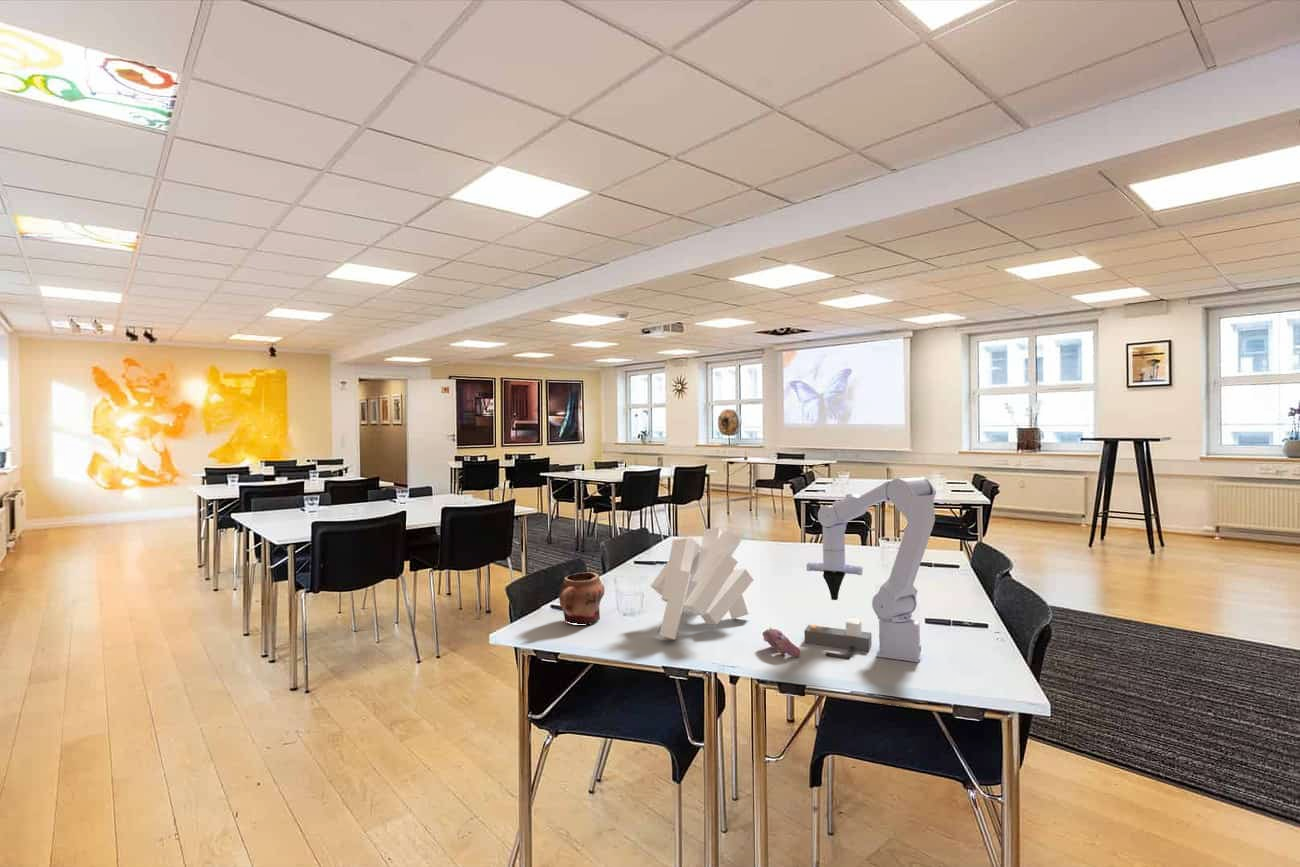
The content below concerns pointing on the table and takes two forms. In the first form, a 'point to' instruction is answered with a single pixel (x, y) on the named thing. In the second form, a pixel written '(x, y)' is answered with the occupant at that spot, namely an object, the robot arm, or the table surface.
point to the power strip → (840, 637)
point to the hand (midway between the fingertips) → (834, 599)
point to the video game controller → (780, 642)
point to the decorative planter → (581, 597)
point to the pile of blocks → (702, 581)
